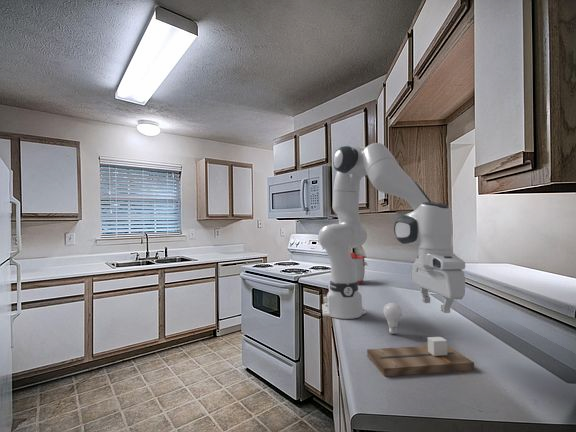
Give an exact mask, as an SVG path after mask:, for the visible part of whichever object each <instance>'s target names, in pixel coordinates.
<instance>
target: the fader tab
mask: <svg viewBox="0 0 576 432" xmlns="http://www.w3.org/2000/svg"><path fill="white" fill-rule="evenodd" d="M427 346H428V352H429V353H431V354H432V355H433V356H440V355H447V346H448V340H447V339H445V338H444V337H442V336H432V337H431V336H430V337H427Z"/></svg>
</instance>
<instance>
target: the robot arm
mask: <svg viewBox="0 0 576 432" xmlns="http://www.w3.org/2000/svg"><path fill="white" fill-rule="evenodd" d="M332 164H333V168H334V169H335V171H336V174H335V177H334V182H333V189H332V190H333V192H332V206H331V207H332V210H333V212H334V213H335V215H336V216H337V219H338V223H332V224H327V225H325V226H323V227H322V228H320V230H319V232H318V235H317V236H318V242H319V245H320V246H321V247H322V248H323V250H325V252H326V254H327V256H328V259H329V264H330V280H329V281H330V282H329V290H328V292H327V294H326V296H323V303H322V304H321V310H322V315H323V316H325V317H326V316H327V317H332V318H336V319H342V320H347V319H348V320H350V319H351V320H352V319H357V318H360V317H361V316H363V315H365V314H367V311H366V310H365V309H363V299H362V298H363V297H362V293H360V292H359V284H358V281H357V264H356V262H355V261H354V260H353V259H352V258H351V255H350V254H351V252H350V249H356V248H358V247H360V246H361V247H362V246H363V245H365V243H366V241H367V238H368V233H367V230H366V228H365V227H364V226H363V224H362V221H361V217H360V211H359V207H360V206H359V205H360V190H361V189H360V188H361V187H360V184H361V180H362V179H363V177H365V178H366V179H368V180H369V182H370V183H371V185H372V186H373V187H374V189H375V190H377V191H379V192H381V193H383V194H387V195H391V196H394V197H398V198H400V199H402V200H404V201H405V202H407V203H408V204H409V205H410V207H411V208H412V210H413V211H411V212H408V213H406V214H402V215H400V216H398V218H397V219H395V222H394V227H393V231H394V236H395V238H396V240H397V241H398V242H399V243H400V244H404V245H407V246H409V245H411V246H412V245H413V246H414V245H418V255H417V257H415V261H414V262H413V265H412V271H411V272H412V273H411V279H412V281H411V282H412V283H413V285H415V286H418V287H419V292H420V294H421V301H422V303H425V304H430V303H431V297H430V295H429V291H430V292H432V293H434V294H437V295H439V296H442V300H443V304H441V305H440V311H441V312H442V313H445V314H449V313H451V306H452V304H454V303H453V302H454V300H462V299H464V297H465V294H466V275H465V272H464V271H463V270H465V269H466V262H465V260H463V259H461V258H460V257H459V256H458V255H456V254H455V253H453V252H454V251H453V250H454V249H453V248H454V247H453V245H452V237H453V232H454V231H453V229H454V228H453V227H454V226H453V215H452V211H451V208H450V206H449V205H447V204H446V203H442V202H433V201H431V199H430V198H429V197H428V195H427V194H426V193H425V191H424V190H423V189H422V188H421V186H420V185H419V184H418V183H417V182H416V181H415V180H414V179H413V178H412V177H410V176H409V174H407V173H406V172H405V171H404V169H403V168H402V167H401V165H399V163H398V161H397V159H396V158H395V157H394V155H393V154H392V152H391V150H389V149H388V147H387V146H385V145H384V144H383V143H381V142H373V143H371V144H370V143H369V144H368V145H367V146H366V147H363V146H350V145H345V146H340V147H338V148H337V149H336V150H335V152H334V153H333V157H332Z"/></svg>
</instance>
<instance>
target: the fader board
mask: <svg viewBox="0 0 576 432" xmlns="http://www.w3.org/2000/svg"><path fill="white" fill-rule="evenodd" d="M366 352H367V353H366V354H367V355H366V357H367V358H368V359H369V360H370V361H371V362H372V364H373V365H374V366H375V367H376V369H377V370H378V371H379V372H380V373H381V374H382V376H384V377H393V376H407V375H421V374H435V373H436V374H437V373H449V372H462V371H464V372H465V371H474V370H475V362H474V361H472V360H471V359H470V358H468V357H466V356H465V355H463V354H462V353H460V352H458V351H457V350H455V349H453V348H452V347H450V346H449V345H447V355H440V356H433V355H432V354H431V353H429V352H428V345H419V346H403V347H400V346H399V347H388V348H387V347H385V348H384V347H383V348H369V349H367V351H366Z"/></svg>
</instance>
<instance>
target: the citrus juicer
mask: <svg viewBox="0 0 576 432" xmlns="http://www.w3.org/2000/svg"><path fill="white" fill-rule="evenodd" d="M350 255H351V258H352V259H353V260H354V261H355V262H356V264H357V281H358V285H361V284H363V282H364V280H365V279H364V278H365V272H366V271H365V269H366V267H365V266H369V264H368V262H366V261H365V256H363V255H357V254H356V253H354V252H350Z"/></svg>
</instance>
